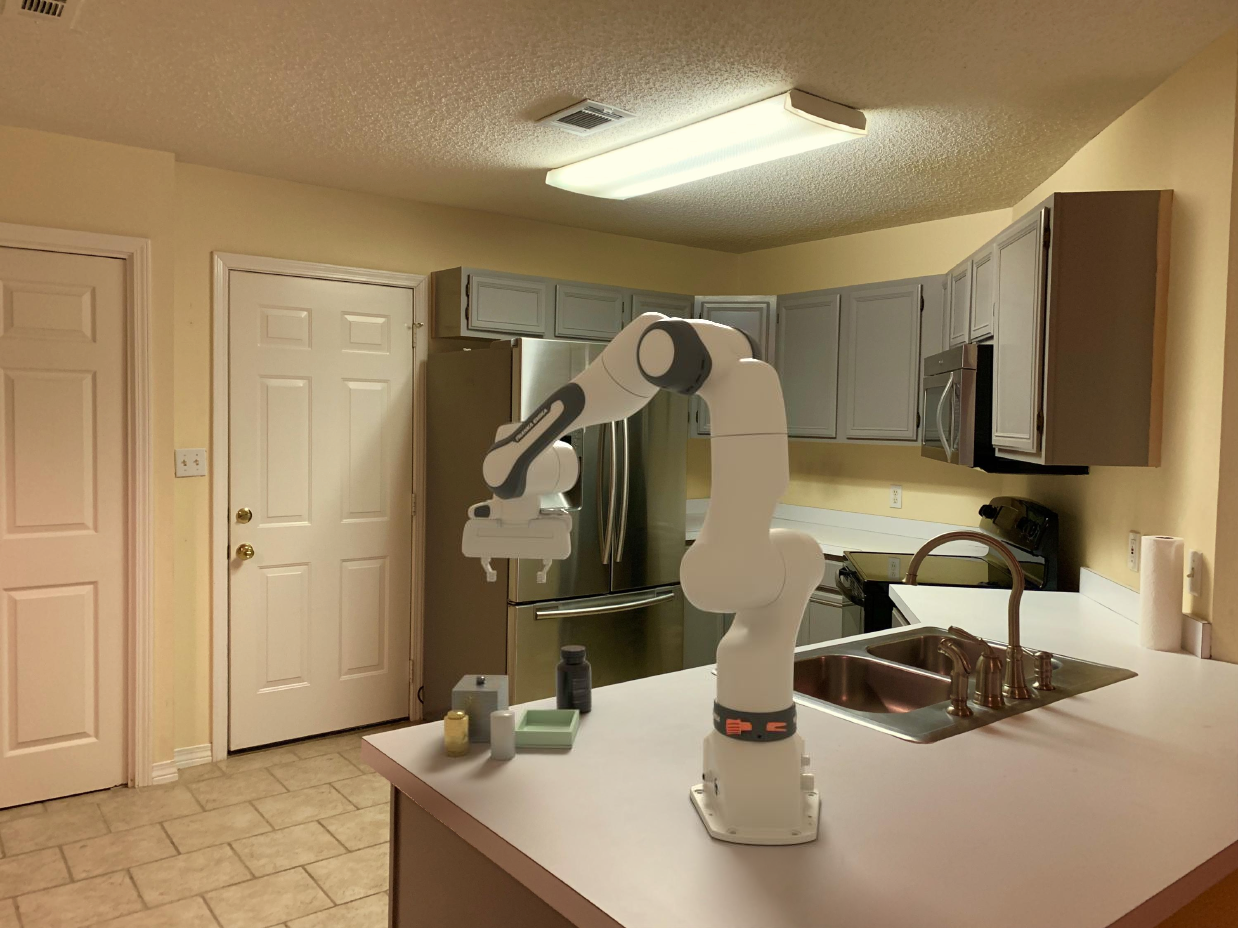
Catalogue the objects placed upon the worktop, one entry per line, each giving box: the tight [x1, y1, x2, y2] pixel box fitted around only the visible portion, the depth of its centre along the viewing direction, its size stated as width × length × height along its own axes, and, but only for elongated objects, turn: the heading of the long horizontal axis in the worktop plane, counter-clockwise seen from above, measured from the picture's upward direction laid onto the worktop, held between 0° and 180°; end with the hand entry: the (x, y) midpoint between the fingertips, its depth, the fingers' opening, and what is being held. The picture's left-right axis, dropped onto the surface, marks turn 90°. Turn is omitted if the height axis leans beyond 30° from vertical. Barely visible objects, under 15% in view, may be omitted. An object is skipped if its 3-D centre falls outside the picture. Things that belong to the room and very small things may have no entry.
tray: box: [515, 708, 580, 749], centre depth 159 cm, size 12×10×3 cm
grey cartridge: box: [490, 710, 516, 761], centre depth 149 cm, size 4×4×7 cm
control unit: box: [451, 674, 510, 744], centre depth 161 cm, size 10×8×10 cm
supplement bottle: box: [555, 644, 593, 715], centre depth 173 cm, size 7×7×12 cm
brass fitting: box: [443, 710, 470, 758], centre depth 150 cm, size 4×4×7 cm
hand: (516, 581), depth 169 cm, fingers open, 8 cm apart
